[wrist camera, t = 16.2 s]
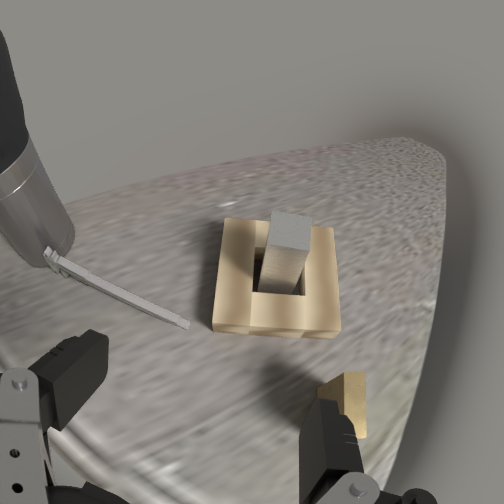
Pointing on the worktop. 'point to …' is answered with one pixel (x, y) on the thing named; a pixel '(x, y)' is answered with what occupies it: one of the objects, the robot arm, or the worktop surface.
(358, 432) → the light brown wooden block
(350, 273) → the worktop surface
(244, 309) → the socket block
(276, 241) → the square bit
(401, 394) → the worktop surface
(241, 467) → the worktop surface
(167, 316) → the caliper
